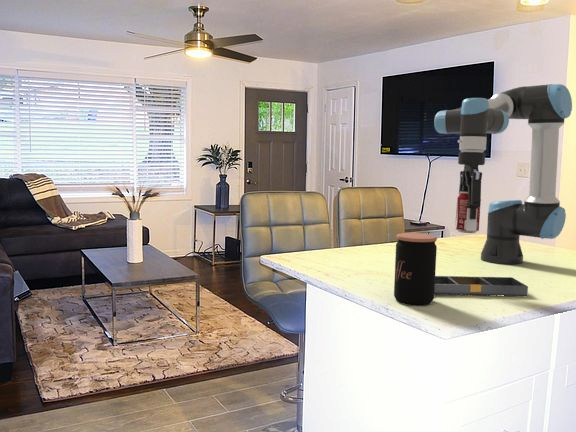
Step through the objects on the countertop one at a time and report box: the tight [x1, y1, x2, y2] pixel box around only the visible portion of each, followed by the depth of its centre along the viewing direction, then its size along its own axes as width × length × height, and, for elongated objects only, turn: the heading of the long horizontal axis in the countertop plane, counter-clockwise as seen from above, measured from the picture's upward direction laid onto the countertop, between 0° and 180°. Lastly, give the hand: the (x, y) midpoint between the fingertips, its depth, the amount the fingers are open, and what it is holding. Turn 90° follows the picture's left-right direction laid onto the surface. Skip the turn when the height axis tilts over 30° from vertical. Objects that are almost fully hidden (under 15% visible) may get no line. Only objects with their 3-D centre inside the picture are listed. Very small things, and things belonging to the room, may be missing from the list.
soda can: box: [454, 192, 481, 234], centre depth 166 cm, size 7×7×12 cm
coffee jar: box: [393, 232, 438, 307], centre depth 150 cm, size 11×11×18 cm
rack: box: [434, 275, 529, 297], centre depth 163 cm, size 30×12×3 cm, turn 90°
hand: (467, 228), depth 166 cm, fingers closed on soda can, 7 cm apart
